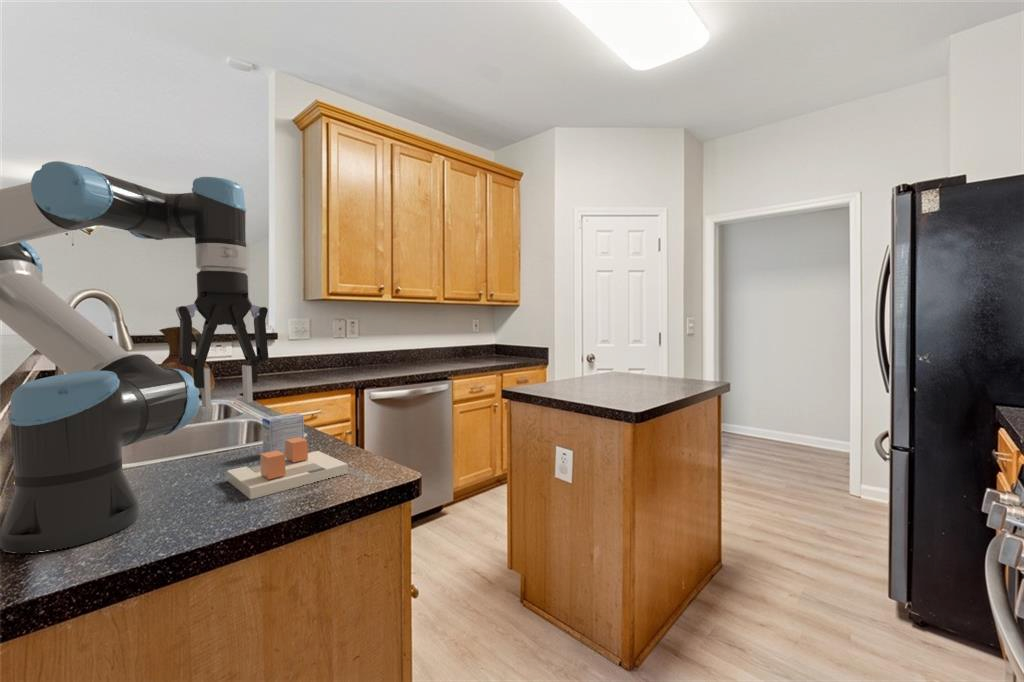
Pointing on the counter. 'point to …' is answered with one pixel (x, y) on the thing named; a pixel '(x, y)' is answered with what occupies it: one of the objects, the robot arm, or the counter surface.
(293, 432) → the medicine box
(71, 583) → the counter surface
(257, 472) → the switch bank
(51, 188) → the robot arm
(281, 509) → the counter surface
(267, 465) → the near tab
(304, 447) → the far tab
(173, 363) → the ceramic pitcher
